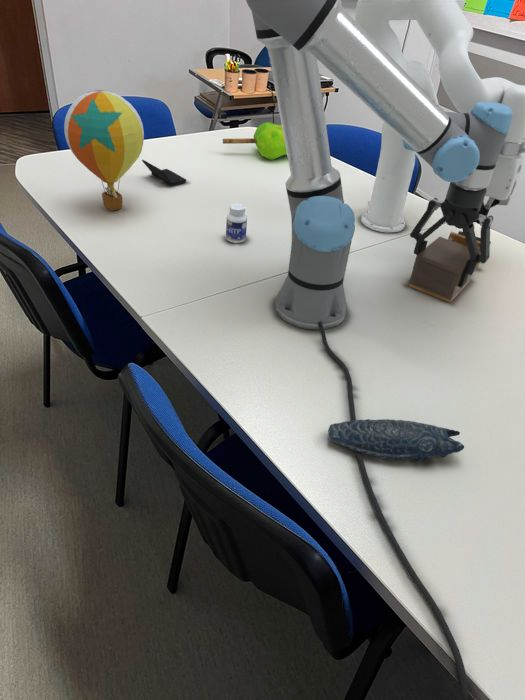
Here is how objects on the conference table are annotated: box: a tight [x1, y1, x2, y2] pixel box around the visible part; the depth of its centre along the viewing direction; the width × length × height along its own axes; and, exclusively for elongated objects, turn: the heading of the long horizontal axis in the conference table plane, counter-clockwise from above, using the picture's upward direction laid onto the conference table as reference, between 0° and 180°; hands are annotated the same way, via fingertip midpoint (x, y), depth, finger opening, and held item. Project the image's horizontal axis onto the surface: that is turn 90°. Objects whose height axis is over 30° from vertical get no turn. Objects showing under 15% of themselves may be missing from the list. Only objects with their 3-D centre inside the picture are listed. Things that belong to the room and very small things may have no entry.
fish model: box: [327, 418, 465, 461], centre depth 82 cm, size 7×21×5 cm, turn 84°
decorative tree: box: [222, 121, 287, 161], centre depth 186 cm, size 18×10×30 cm
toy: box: [63, 89, 145, 212], centre depth 136 cm, size 20×20×30 cm
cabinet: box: [407, 236, 480, 304], centre depth 123 cm, size 13×11×8 cm
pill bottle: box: [225, 203, 248, 244], centre depth 133 cm, size 5×5×9 cm
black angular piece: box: [141, 159, 187, 187], centre depth 162 cm, size 12×7×10 cm
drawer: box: [447, 230, 492, 269], centre depth 131 cm, size 18×9×6 cm, turn 143°
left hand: (438, 275), depth 122 cm, fingers closed on cabinet, 10 cm apart
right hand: (477, 221), depth 129 cm, fingers closed
